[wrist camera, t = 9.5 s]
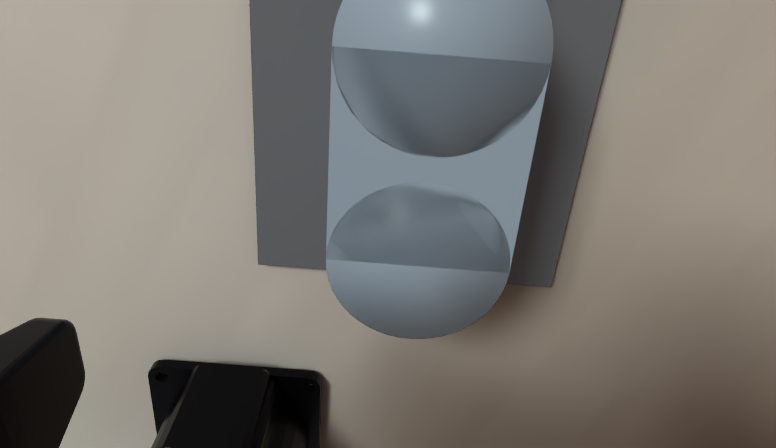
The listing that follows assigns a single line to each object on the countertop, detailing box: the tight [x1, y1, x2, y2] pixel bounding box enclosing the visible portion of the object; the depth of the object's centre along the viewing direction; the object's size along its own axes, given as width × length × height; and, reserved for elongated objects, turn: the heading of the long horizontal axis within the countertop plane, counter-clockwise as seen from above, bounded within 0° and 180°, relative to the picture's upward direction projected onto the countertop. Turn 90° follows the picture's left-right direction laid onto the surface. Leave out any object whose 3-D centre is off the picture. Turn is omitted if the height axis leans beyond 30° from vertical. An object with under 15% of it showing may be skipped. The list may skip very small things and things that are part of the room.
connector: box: [326, 0, 553, 339], centre depth 15 cm, size 12×4×5 cm, turn 176°
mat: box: [250, 0, 622, 287], centre depth 18 cm, size 12×10×1 cm
